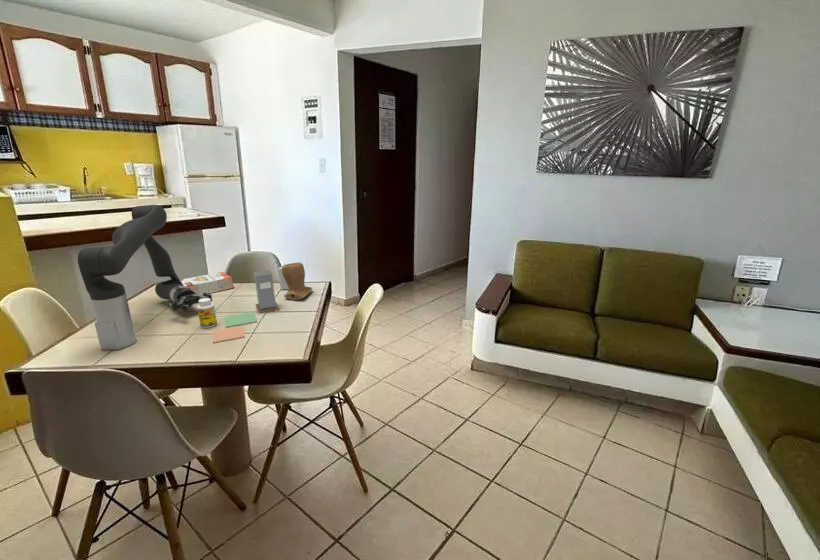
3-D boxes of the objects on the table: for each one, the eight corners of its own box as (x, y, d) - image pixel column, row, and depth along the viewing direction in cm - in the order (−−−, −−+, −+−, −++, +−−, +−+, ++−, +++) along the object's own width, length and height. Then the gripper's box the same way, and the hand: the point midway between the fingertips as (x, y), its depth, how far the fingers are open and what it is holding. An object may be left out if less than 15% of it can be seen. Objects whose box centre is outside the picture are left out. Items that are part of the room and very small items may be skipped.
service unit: (279, 310, 163) (274, 274, 159) (258, 313, 160) (253, 277, 155) (275, 303, 171) (271, 269, 166) (255, 306, 167) (251, 271, 163)
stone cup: (290, 290, 188) (287, 259, 184) (315, 290, 187) (312, 259, 182) (277, 301, 173) (273, 267, 169) (303, 301, 172) (300, 268, 168)
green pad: (257, 322, 151) (257, 321, 151) (225, 327, 147) (225, 326, 146) (254, 312, 161) (254, 311, 161) (224, 317, 156) (224, 316, 156)
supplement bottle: (197, 328, 146) (193, 302, 143) (204, 322, 152) (200, 297, 149) (213, 328, 146) (208, 302, 143) (219, 322, 152) (215, 297, 149)
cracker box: (232, 276, 190) (184, 286, 177) (234, 288, 192) (186, 299, 178) (222, 270, 200) (175, 279, 187) (224, 282, 202) (178, 292, 188)
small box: (292, 290, 188) (289, 268, 185) (280, 290, 188) (277, 268, 185) (297, 284, 196) (294, 264, 193) (285, 285, 196) (283, 264, 193)
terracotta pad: (244, 337, 138) (244, 336, 138) (213, 343, 134) (212, 342, 134) (242, 327, 147) (242, 325, 147) (212, 332, 143) (212, 331, 143)
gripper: (161, 291, 157) (175, 300, 147) (199, 283, 167) (215, 291, 156) (165, 309, 159) (179, 319, 149) (202, 300, 169) (218, 309, 159)
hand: (198, 305), depth 153 cm, fingers open, 8 cm apart
